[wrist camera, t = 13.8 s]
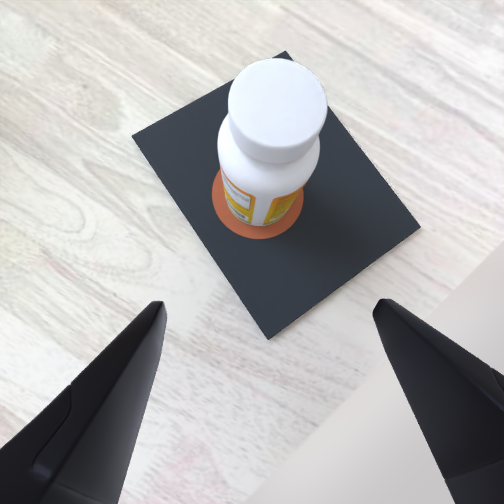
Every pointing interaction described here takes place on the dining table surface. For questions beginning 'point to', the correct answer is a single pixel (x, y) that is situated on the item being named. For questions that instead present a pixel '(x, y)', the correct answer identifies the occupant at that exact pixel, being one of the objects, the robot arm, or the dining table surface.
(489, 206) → the dining table surface
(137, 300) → the dining table surface
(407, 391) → the robot arm
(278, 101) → the supplement bottle
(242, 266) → the placemat
